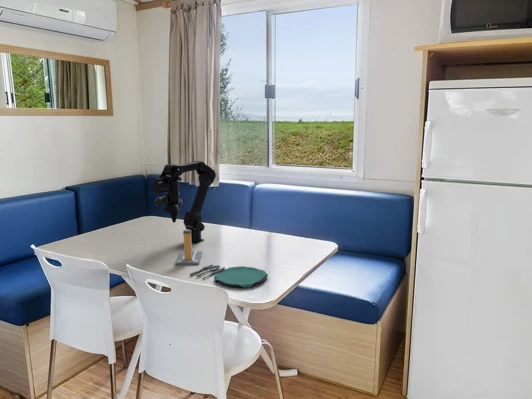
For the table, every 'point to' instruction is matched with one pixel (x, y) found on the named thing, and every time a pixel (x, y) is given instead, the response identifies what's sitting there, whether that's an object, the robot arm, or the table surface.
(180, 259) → the board
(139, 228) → the table surface
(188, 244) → the tan wooden bar
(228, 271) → the cutlery set
